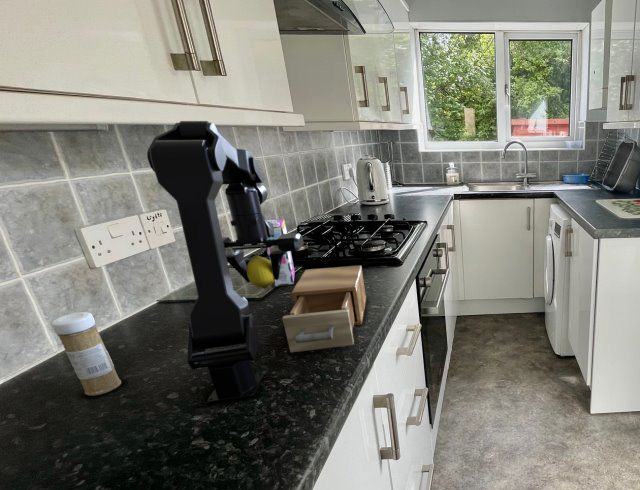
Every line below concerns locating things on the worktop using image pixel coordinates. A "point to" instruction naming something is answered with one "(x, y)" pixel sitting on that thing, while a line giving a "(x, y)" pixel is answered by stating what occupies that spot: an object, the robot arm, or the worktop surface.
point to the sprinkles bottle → (87, 352)
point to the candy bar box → (286, 264)
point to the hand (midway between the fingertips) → (263, 280)
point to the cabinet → (334, 285)
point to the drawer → (321, 321)
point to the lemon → (260, 272)
